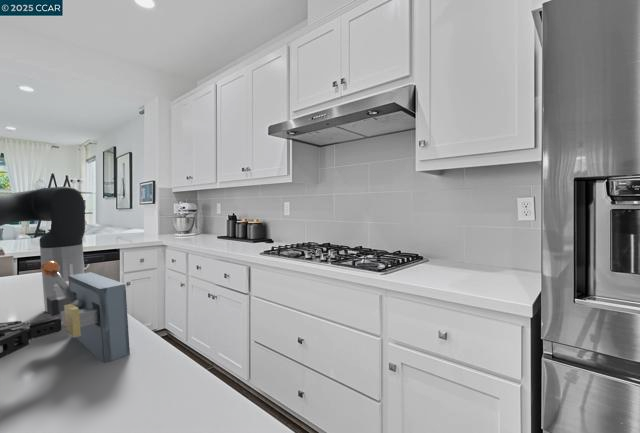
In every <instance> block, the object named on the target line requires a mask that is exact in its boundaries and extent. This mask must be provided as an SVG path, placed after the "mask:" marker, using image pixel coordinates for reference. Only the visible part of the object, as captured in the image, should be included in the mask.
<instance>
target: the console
mask: <svg viewBox="0 0 640 433" xmlns="http://www.w3.org/2000/svg"><path fill="white" fill-rule="evenodd" d="M68 277H69V288H70V289H71V290H72V292H73V293H74V294H75V296H76V297H77V298H78V299H80V300H82V301H83V302H84V306H83V308H81V309H85V308H89V307H95V308H97V309H98V316H99V322H98V323H95V324H91V325H87V326H83V327H80V331H81V336H78V337H74V339H76V340H77V341H78V342H79V343H80V344H81V345H83V346H84V347H85V348H87V350H89V351H90V352H91V353H92V354H94V355H95V356H96V357H97V358H98V359H99V360H100V361H102V362H103V363H104V364H106V363H109V362H112V361H114V360H117V359H122V358H123V357H126V356H129V355H131V351H130V339H129V338H130V336H129V332H130V331H129V321H128V320H129V318H128V317H129V316H128V302H127V290H126V289H127V287H126V283H124V282H120V281H118V280H115V279H111V278H109V277H105V276H102V275H100V274H98V273H95V272H88V271H87V272H85V273H82V274H76V275H70V276H68ZM81 309H80V310H81Z"/></svg>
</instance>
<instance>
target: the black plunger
mask: <svg viewBox="0 0 640 433" xmlns="http://www.w3.org/2000/svg"><path fill="white" fill-rule="evenodd" d="M69 302H70V301H69V300H68V298H67V297H66V296H63V297H58V298H55V297H53V296H52V297H47V310H48V312H47V313H48V314H49V315H50V316H52V317H54V316H55V317H56V316H59V315H60V312H61V311H65V309H64V305H68V304H69Z"/></svg>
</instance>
